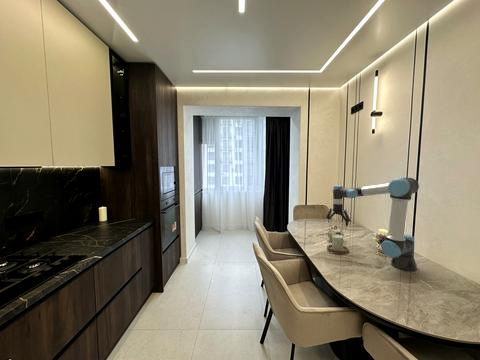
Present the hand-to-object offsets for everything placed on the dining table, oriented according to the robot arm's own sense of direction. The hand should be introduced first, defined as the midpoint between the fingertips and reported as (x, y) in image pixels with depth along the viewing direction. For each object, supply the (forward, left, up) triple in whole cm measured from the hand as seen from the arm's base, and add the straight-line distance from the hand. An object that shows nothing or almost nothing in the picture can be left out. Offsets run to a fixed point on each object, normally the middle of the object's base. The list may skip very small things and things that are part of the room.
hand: (337, 228), depth 192 cm
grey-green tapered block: (0, 0, -19) cm, 19 cm away
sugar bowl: (+14, -23, -20) cm, 34 cm away
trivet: (0, 0, -20) cm, 20 cm away
